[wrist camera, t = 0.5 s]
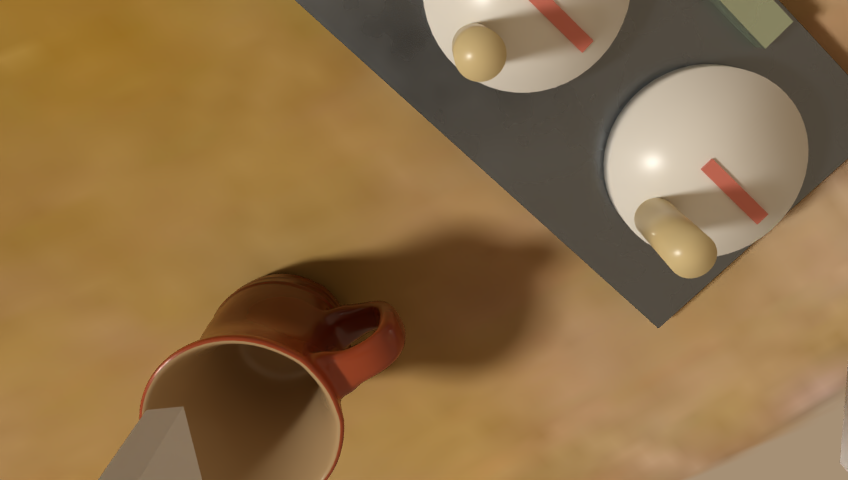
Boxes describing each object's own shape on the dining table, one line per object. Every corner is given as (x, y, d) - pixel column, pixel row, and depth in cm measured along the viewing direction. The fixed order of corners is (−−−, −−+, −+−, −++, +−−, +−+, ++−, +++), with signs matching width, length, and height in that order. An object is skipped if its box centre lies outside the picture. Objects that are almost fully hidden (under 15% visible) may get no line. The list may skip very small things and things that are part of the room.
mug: (263, 418, 43) (210, 542, 33) (180, 295, 40) (97, 390, 30) (445, 334, 41) (446, 439, 31) (369, 200, 38) (345, 268, 28)
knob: (564, 165, 36) (593, 204, 29) (706, 21, 34) (772, 27, 27) (689, 282, 38) (743, 343, 31) (831, 153, 35) (923, 188, 29)
